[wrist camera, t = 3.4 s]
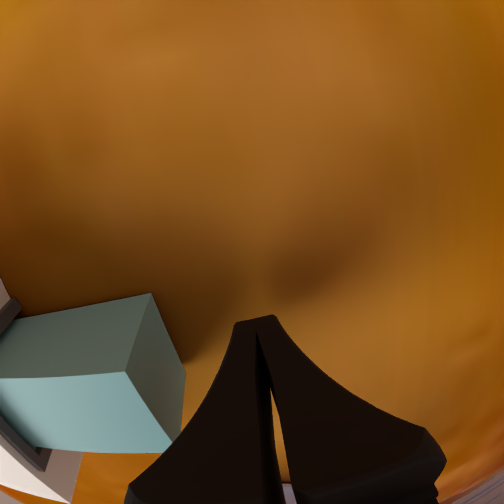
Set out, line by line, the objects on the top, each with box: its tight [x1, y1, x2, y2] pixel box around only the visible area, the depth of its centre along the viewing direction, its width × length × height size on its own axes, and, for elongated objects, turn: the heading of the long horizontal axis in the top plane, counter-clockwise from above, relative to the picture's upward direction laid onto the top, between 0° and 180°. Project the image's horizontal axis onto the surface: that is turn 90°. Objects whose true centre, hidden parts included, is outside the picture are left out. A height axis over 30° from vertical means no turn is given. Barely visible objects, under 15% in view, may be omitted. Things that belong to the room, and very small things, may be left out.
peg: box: [0, 293, 186, 453], centre depth 10 cm, size 8×4×4 cm, turn 101°
